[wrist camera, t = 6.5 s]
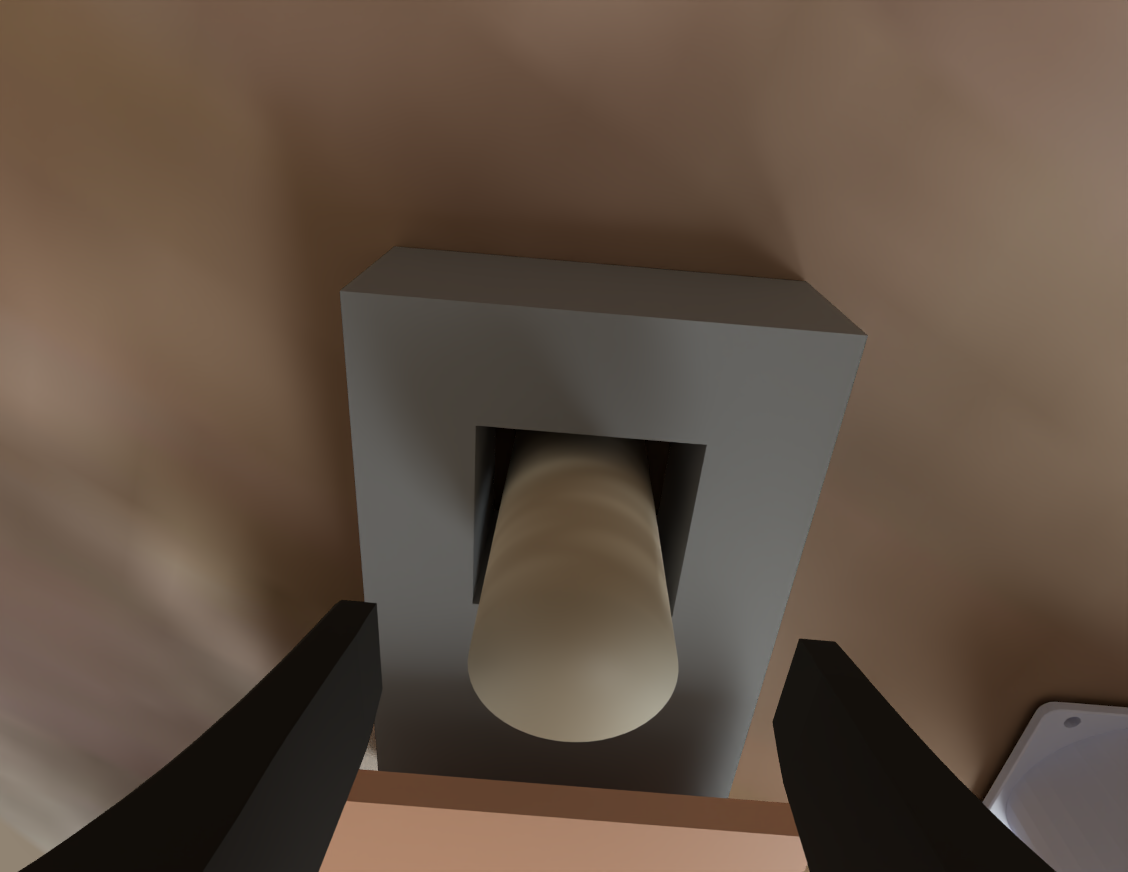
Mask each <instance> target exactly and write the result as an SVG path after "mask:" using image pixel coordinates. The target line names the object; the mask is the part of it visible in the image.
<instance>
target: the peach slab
mask: <svg viewBox="0 0 1128 872" xmlns="http://www.w3.org/2000/svg"><path fill="white" fill-rule="evenodd" d="M806 866H807V860H806V857H805V854H804V851H803V847H802V844H801V841H800V838H799V834H798V831H797V828H796V824H795V821H794V818H793V814H792V811H791V807H790V804H789V803H779V802H766V801H754V800H741V799H728V798H716V797H703V796H690V795H678V794H665V793H652V792H640V791H627V790H614V789H602V788H589V787H576V786H563V785H551V784H538V783H525V782H513V781H500V780H487V779H475V778H462V777H449V776H437V775H424V774H411V773H398V772H386V771H373V770H360V769H359V770H358V773H357V775H356V778H355V780H354V783H353V786H352V788H351V791H350V793H349V796H348V799H347V801H346V804H345V806H344V809H343V811H342V814H341V816H340V819H339V821H338V824H337V826H336V829H335V832H334V834H333V837H332V839H331V842H330V844H329V847H328V849H327V852H326V854H325V857H324V860H323V862H322V865H321V867H320V870H319V872H804V871H805V868H806Z"/></svg>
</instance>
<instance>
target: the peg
mask: <svg viewBox="0 0 1128 872" xmlns="http://www.w3.org/2000/svg"><path fill="white" fill-rule="evenodd" d="M678 672H679V670H678V657H677V650H676V643H675V637H674V630H673V624H672V617H671V611H670V604H669V598H668V591H667V585H666V578H665V572H664V565H663V558H662V552H661V545H660V539H659V532H658V526H657V519H656V513H655V506H654V500H653V493H652V487H651V480H650V473H649V467H648V460H647V454H646V447H645V441H644V440H643V439H631V438H619V437H607V436H595V435H583V434H571V433H559V432H547V431H535V430H523V429H517V431H516V435H515V440H514V444H513V449H512V454H511V458H510V463H509V467H508V472H507V477H506V481H505V486H504V491H503V495H502V500H501V505H500V509H499V514H498V519H497V523H496V528H495V532H494V537H493V542H492V546H491V551H490V556H489V560H488V565H487V570H486V574H485V579H484V584H483V588H482V593H481V597H480V602H479V607H478V611H477V616H476V621H475V625H474V630H473V635H472V639H471V644H470V649H469V654H468V673H469V677H470V681H471V684H472V686H473V688H474V691H475V692H476V694H477V696H478V697H479V699H480V700H481V701H482V703H483V704H484V705H485V706H486V707H487V708H488V709H489V710H490V711H491V712H492V713H493V714H494V715H495V716H497V717H498V718H499V719H501V720H502V721H504V722H505V723H507V724H509V725H510V726H512V727H514V728H516V729H518V730H520V731H523V732H525V733H528V734H531V735H534V736H537V737H540V738H545V739H549V740H556V741H563V742H590V741H597V740H603V739H608V738H612V737H616V736H619V735H622V734H625V733H627V732H629V731H632V730H634V729H636V728H638V727H639V726H641V725H643V724H644V723H646V722H647V721H649V720H650V719H651V718H653V717H654V716H655V715H656V714H657V713H658V712H659V711H660V710H661V709H662V708H663V707H664V706H665V704H666V703H667V702H668V700H669V699H670V697H671V695H672V693H673V691H674V689H675V686H676V683H677V678H678Z"/></svg>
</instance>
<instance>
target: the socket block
mask: <svg viewBox="0 0 1128 872" xmlns="http://www.w3.org/2000/svg"><path fill="white" fill-rule="evenodd" d="M340 300H341V313H342V325H343V338H344V350H345V363H346V375H347V388H348V400H349V413H350V425H351V438H352V450H353V462H354V475H355V487H356V500H357V512H358V525H359V537H360V550H361V562H362V575H363V587H364V600H365V602H370V603H377V613H378V628H379V643H380V657H381V672H382V687H383V690H382V694H381V697H380V701H379V705H378V709H377V713H376V717H375V721H374V724H375V737H376V749H377V762H378V771H386V772H398V773H411V774H424V775H437V776H449V777H462V778H475V779H487V780H500V781H513V782H525V783H538V784H551V785H563V786H576V787H589V788H602V789H614V790H627V791H640V792H652V793H665V794H678V795H690V796H703V797H716V798H728V796H729V793H730V789H731V786H732V783H733V779H734V776H735V773H736V770H737V766H738V763H739V760H740V756H741V753H742V750H743V746H744V743H745V740H746V737H747V733H748V730H749V727H750V723H751V720H752V717H753V713H754V710H755V707H756V703H757V700H758V697H759V694H760V690H761V687H762V684H763V680H764V677H765V674H766V670H767V667H768V664H769V661H770V657H771V654H772V651H773V647H774V644H775V641H776V637H777V634H778V631H779V628H780V624H781V621H782V618H783V614H784V611H785V608H786V604H787V601H788V598H789V595H790V591H791V588H792V585H793V581H794V578H795V575H796V571H797V568H798V565H799V562H800V558H801V555H802V552H803V548H804V545H805V542H806V538H807V535H808V532H809V529H810V525H811V522H812V519H813V515H814V512H815V509H816V505H817V502H818V499H819V496H820V492H821V489H822V486H823V482H824V479H825V476H826V472H827V469H828V466H829V462H830V459H831V456H832V453H833V449H834V446H835V443H836V439H837V436H838V433H839V429H840V426H841V423H842V420H843V416H844V413H845V410H846V406H847V403H848V400H849V396H850V393H851V390H852V387H853V383H854V380H855V377H856V373H857V370H858V367H859V363H860V360H861V357H862V354H863V350H864V347H865V344H866V340H867V337H868V335H867V334H865V333H864V332H863V331H862V330H861V329H860V328H859V327H858V326H856V325H855V324H854V323H853V322H852V321H851V320H850V319H848V318H847V317H846V316H845V315H844V314H843V313H842V312H840V311H839V310H838V309H837V308H836V307H835V306H834V305H832V304H831V303H830V302H829V301H828V300H827V299H826V298H824V297H823V296H822V295H821V294H820V293H819V292H818V291H817V290H815V289H814V288H813V287H812V286H811V285H810V284H809V283H807V282H806V281H795V280H783V279H771V278H759V277H748V276H736V275H724V274H712V273H701V272H689V271H677V270H665V269H654V268H642V267H630V266H619V265H607V264H595V263H583V262H572V261H560V260H548V259H536V258H525V257H513V256H501V255H489V254H478V253H466V252H454V251H442V250H431V249H419V248H407V247H396V246H394V247H393V248H392V249H391V250H389V251H388V252H387V253H386V254H385V255H383V256H382V257H381V258H380V259H378V260H377V261H376V262H375V263H373V264H372V265H371V266H370V267H369V268H367V269H366V270H365V271H364V272H362V273H361V274H360V275H359V276H357V277H356V278H355V279H354V280H353V281H351V282H350V283H349V284H348V285H346V286H345V287H344V288H343V289H342V290H340ZM496 427H499V428H511V429H523V430H535V431H547V432H559V433H571V434H583V435H595V436H607V437H619V438H631V439H643V440H655V441H667V442H670V447H669V453H668V459H667V465H666V471H665V476H664V482H663V488H662V494H661V500H660V505H659V511H658V517H657V526H658V532H659V539H660V545H661V552H662V558H663V565H664V572H665V578H666V585H667V591H668V598H669V604H670V611H671V617H672V624H673V630H674V637H675V643H676V650H677V657H678V670H679V672H678V678H677V683H676V686H675V689H674V691H673V693H672V695H671V697H670V699H669V700H668V702H667V703H666V704H665V706H664V707H663V708H662V709H661V710H660V711H659V712H658V713H657V714H656V715H655V716H654V717H653V718H651V719H650V720H649V721H647V722H646V723H644V724H643V725H641V726H639V727H638V728H636V729H634V730H632V731H629V732H627V733H625V734H622V735H619V736H616V737H612V738H608V739H603V740H597V741H590V742H563V741H556V740H549V739H545V738H540V737H537V736H534V735H531V734H528V733H525V732H523V731H520V730H518V729H516V728H514V727H512V726H510V725H509V724H507V723H505V722H504V721H502V720H501V719H499V718H498V717H497V716H495V715H494V714H493V713H492V712H491V711H490V710H489V709H488V708H487V707H486V706H485V705H484V704H483V703H482V701H481V700H480V699H479V697H478V696H477V694H476V692H475V691H474V688H473V686H472V684H471V681H470V677H469V673H468V654H469V649H470V644H471V639H472V635H473V630H474V625H475V621H476V616H477V611H478V607H479V602H480V597H481V593H482V588H483V584H484V579H485V574H486V570H487V565H488V560H489V556H490V551H491V546H492V542H493V537H494V532H495V528H496V523H497V519H498V514H499V511H497V510H493V506H494V476H495V446H496Z"/></svg>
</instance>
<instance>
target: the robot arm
mask: <svg viewBox="0 0 1128 872" xmlns="http://www.w3.org/2000/svg"><path fill="white" fill-rule="evenodd" d="M382 690H383V687H382V672H381V657H380V643H379V628H378V613H377V603H370V602H359V601H347V600H341V601H339V602H338V603H337V604H335V605H334V606H333V607H332V608H331V610H330V611H329V612H328V613H327V614H326V615H325V616H324V617H323V618H322V619H321V620H320V621H319V622H318V623H317V624H316V625H315V627H314V628H313V629H312V630H311V631H310V632H309V633H308V634H307V635H306V636H305V637H304V638H303V639H302V640H301V641H300V642H299V643H298V644H297V645H296V646H295V647H294V648H293V649H292V650H291V651H290V652H289V653H288V655H287V656H286V657H285V658H284V659H283V660H282V661H281V662H280V663H279V664H278V665H277V666H276V667H274V668H273V669H272V670H271V671H270V672H269V673H268V674H267V675H266V676H265V677H264V678H263V679H262V680H261V681H260V682H259V683H258V684H257V685H256V686H255V687H254V688H253V689H252V690H251V691H250V692H249V693H248V694H247V695H246V696H245V697H244V698H242V699H241V700H240V701H239V702H238V703H237V704H236V705H235V706H234V707H233V708H232V709H230V710H229V711H228V712H227V713H226V714H225V715H224V716H223V717H221V718H220V719H219V720H218V721H217V722H216V723H215V724H214V725H212V726H211V727H210V728H209V729H208V730H207V731H206V732H205V733H203V734H202V735H201V736H200V737H199V738H198V739H197V740H196V741H194V742H193V743H192V744H191V745H190V746H189V747H187V748H186V749H185V750H184V751H183V752H181V753H180V754H179V755H178V756H177V757H175V758H174V759H173V760H172V761H171V762H169V763H168V764H167V765H166V766H164V767H163V768H162V769H161V770H159V771H158V772H157V773H156V774H154V775H153V776H152V777H150V778H149V779H148V780H147V781H145V782H144V783H143V784H142V785H140V786H139V787H138V788H136V789H135V790H134V791H133V792H131V793H130V794H129V795H127V796H126V797H125V798H123V799H122V800H121V801H119V802H118V803H116V804H115V805H114V806H112V807H111V808H110V809H108V810H107V811H105V812H104V813H103V814H101V815H100V816H99V817H97V818H96V819H94V820H93V821H92V822H90V823H89V824H88V825H86V826H85V827H83V828H82V829H81V830H79V831H78V832H77V833H75V834H74V835H72V836H71V837H69V838H68V839H66V840H65V841H64V842H62V843H61V844H59V845H58V846H56V847H55V848H53V849H52V850H51V851H49V852H48V853H46V854H45V855H43V856H42V857H40V858H39V859H37V860H36V861H34V862H32V863H31V864H30V865H28V866H26V867H25V868H23V869H22V870H20V871H19V872H319V870H320V867H321V865H322V862H323V860H324V857H325V854H326V852H327V849H328V847H329V844H330V842H331V839H332V837H333V834H334V832H335V829H336V826H337V824H338V821H339V819H340V816H341V814H342V811H343V809H344V806H345V804H346V801H347V799H348V796H349V793H350V791H351V788H352V786H353V783H354V780H355V778H356V775H357V773H358V770H359V768H360V765H361V762H362V760H363V757H364V754H365V752H366V749H367V746H368V742H369V739H370V735H371V731H372V728H373V724H374V721H375V717H376V713H377V709H378V705H379V701H380V697H381V694H382ZM773 728H774V734H775V740H776V746H777V752H778V757H779V763H780V768H781V773H782V778H783V783H784V787H785V790H786V794H787V797H788V801H789V804H790V807H791V811H792V814H793V818H794V821H795V824H796V828H797V831H798V834H799V838H800V841H801V844H802V847H803V851H804V854H805V857H806V860H807V864H808V867H809V870H810V872H1128V707H1116V706H1103V705H1091V704H1078V703H1066V702H1048V703H1045V704H1043V705H1041V706H1040V707H1039V708H1038V709H1037V710H1036V712H1035V714H1034V715H1033V717H1032V719H1031V720H1030V722H1029V724H1028V726H1027V727H1026V729H1025V731H1024V732H1023V734H1022V736H1021V737H1020V739H1019V741H1018V743H1017V744H1016V746H1015V748H1014V749H1013V751H1012V753H1011V755H1010V756H1009V758H1008V760H1007V761H1006V763H1005V765H1004V766H1003V768H1002V770H1001V772H1000V773H999V775H998V777H997V778H996V780H995V782H994V784H993V785H992V787H991V789H990V790H989V792H988V794H987V795H986V797H985V799H984V801H983V802H981V801H980V800H979V799H978V798H977V797H976V796H975V795H974V794H973V793H972V792H971V791H970V790H969V789H968V788H967V787H966V786H965V785H964V784H963V783H962V782H961V781H960V780H959V779H958V778H957V777H956V776H955V775H954V774H953V773H952V772H951V771H950V769H949V768H948V767H947V766H946V765H945V764H944V763H943V762H942V761H941V760H940V759H939V758H938V757H937V756H936V755H935V754H934V753H933V752H932V750H931V749H930V748H929V747H928V746H927V745H926V744H925V743H924V742H923V741H922V740H921V739H920V737H919V736H918V735H917V734H916V733H915V732H914V731H913V730H912V729H911V728H910V726H909V725H908V724H907V723H906V722H905V721H904V720H903V719H902V717H901V716H900V715H899V714H898V713H897V712H896V711H895V710H894V708H893V707H892V706H891V705H890V704H889V703H888V702H887V700H886V699H885V698H884V697H883V696H882V695H881V694H880V692H879V691H878V690H877V689H876V688H875V687H874V686H873V684H872V683H871V682H870V681H869V680H868V679H867V677H866V676H865V675H864V674H863V673H862V672H861V671H860V669H859V668H858V667H857V666H856V665H855V664H854V662H853V661H852V660H851V659H850V658H849V657H848V656H847V654H846V653H845V652H844V651H843V650H842V649H841V648H840V647H839V645H838V644H837V643H836V642H833V641H821V640H809V639H799V641H798V644H797V648H796V651H795V654H794V657H793V660H792V663H791V666H790V669H789V672H788V675H787V679H786V682H785V685H784V688H783V691H782V694H781V697H780V700H779V703H778V706H777V709H776V713H775V716H774V719H773Z"/></svg>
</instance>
